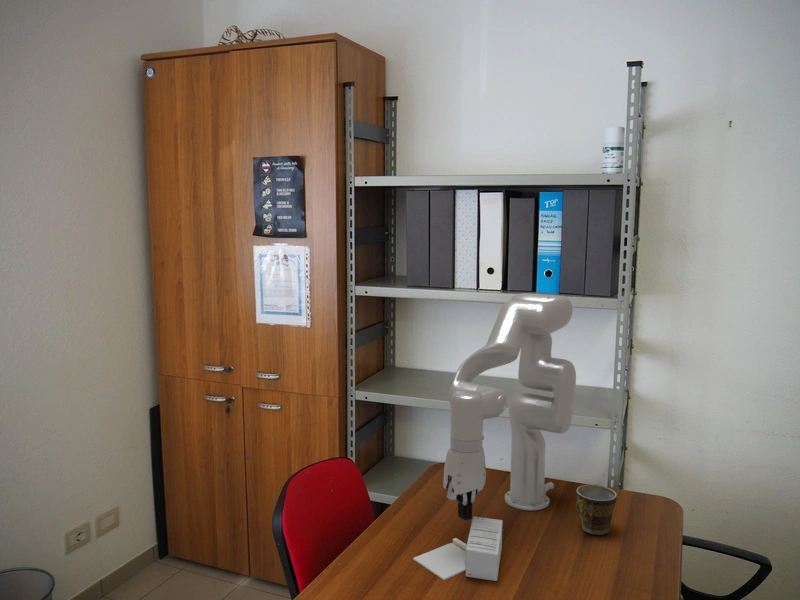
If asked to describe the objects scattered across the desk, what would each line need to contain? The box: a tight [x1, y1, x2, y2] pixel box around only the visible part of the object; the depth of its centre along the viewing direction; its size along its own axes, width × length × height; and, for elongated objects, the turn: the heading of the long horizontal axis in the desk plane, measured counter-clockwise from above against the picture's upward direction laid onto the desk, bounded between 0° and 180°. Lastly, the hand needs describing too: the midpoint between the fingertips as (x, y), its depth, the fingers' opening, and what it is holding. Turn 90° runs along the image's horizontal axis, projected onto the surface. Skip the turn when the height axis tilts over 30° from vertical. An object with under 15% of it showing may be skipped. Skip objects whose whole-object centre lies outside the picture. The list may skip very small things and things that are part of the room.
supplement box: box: [465, 516, 504, 582], centre depth 144 cm, size 7×7×13 cm
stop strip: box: [452, 537, 467, 551], centre depth 151 cm, size 1×11×1 cm, turn 37°
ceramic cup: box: [575, 484, 618, 536], centre depth 162 cm, size 13×10×10 cm
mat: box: [412, 542, 466, 581], centre depth 147 cm, size 12×11×1 cm
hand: (464, 517), depth 149 cm, fingers closed
